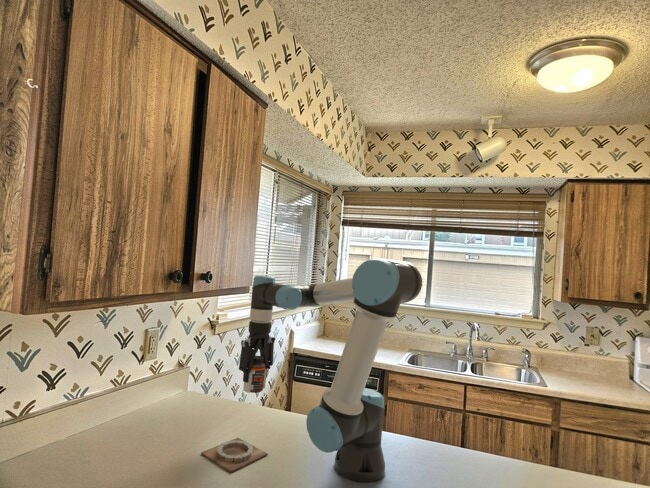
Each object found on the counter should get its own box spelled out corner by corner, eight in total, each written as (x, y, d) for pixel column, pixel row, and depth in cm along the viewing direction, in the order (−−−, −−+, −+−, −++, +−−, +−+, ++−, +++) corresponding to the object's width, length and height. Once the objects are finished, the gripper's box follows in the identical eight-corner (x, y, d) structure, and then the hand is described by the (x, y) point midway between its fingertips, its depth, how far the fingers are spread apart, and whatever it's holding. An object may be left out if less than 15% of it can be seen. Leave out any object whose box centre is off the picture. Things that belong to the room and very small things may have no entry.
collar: (259, 453, 117) (260, 449, 117) (232, 466, 108) (232, 462, 108) (237, 441, 123) (237, 437, 123) (209, 452, 115) (210, 448, 115)
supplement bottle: (253, 394, 125) (256, 360, 125) (241, 389, 129) (244, 356, 129) (266, 391, 130) (269, 357, 130) (254, 386, 133) (257, 353, 134)
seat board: (267, 455, 117) (267, 453, 117) (231, 473, 106) (231, 471, 106) (237, 439, 125) (237, 437, 125) (201, 454, 114) (201, 452, 114)
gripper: (272, 317, 140) (267, 381, 139) (231, 321, 125) (224, 392, 124) (287, 320, 135) (281, 386, 134) (246, 324, 120) (239, 399, 119)
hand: (254, 389), depth 129 cm, fingers closed on supplement bottle, 6 cm apart
